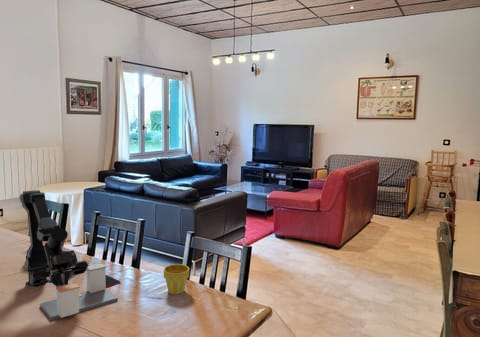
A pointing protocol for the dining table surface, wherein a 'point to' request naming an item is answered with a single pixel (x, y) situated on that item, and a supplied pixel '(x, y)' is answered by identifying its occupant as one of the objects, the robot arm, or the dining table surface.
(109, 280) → the smartphone
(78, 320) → the dining table surface
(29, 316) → the dining table surface
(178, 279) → the plant pot
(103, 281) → the grey rectangular block
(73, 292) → the white box tan lid
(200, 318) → the dining table surface
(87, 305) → the grey flat board
